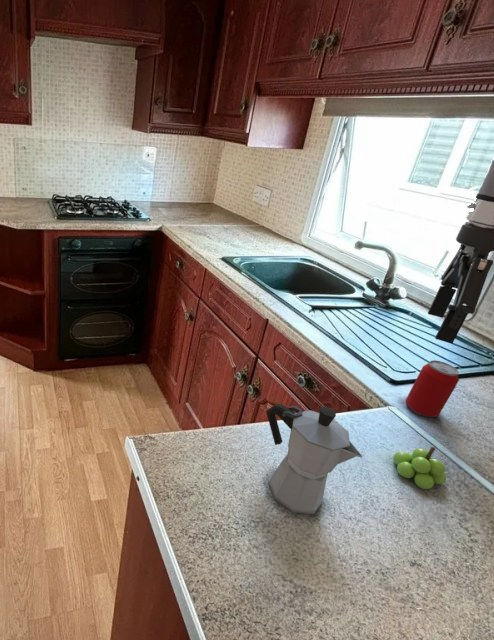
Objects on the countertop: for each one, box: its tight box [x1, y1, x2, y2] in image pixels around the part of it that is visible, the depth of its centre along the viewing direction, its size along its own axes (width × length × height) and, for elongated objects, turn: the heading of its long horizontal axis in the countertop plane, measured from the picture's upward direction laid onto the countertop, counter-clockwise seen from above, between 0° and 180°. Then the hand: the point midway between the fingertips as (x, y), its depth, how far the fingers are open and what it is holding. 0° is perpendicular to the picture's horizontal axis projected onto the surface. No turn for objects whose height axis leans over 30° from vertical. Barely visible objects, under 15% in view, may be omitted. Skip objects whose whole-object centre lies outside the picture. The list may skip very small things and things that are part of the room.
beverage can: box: [405, 359, 460, 418], centre depth 92 cm, size 7×7×12 cm
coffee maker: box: [266, 403, 363, 515], centre depth 66 cm, size 15×9×18 cm, turn 43°
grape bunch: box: [392, 446, 447, 490], centre depth 74 cm, size 8×8×7 cm
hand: (439, 327), depth 83 cm, fingers open, 13 cm apart
